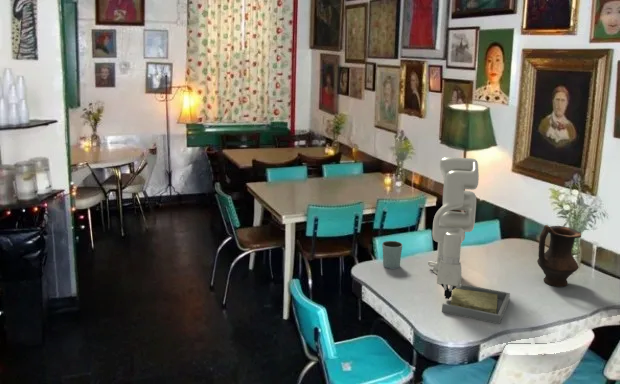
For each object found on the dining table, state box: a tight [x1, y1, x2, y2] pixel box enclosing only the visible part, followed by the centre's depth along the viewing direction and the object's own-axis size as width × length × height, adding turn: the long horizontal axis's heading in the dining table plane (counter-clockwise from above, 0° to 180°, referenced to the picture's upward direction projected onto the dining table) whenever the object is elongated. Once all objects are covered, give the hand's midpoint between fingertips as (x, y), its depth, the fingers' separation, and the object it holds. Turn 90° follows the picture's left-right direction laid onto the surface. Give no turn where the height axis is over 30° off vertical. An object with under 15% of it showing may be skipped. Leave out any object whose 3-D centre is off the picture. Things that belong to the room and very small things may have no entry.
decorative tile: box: [450, 288, 498, 314], centre depth 273 cm, size 19×20×4 cm
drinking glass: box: [382, 240, 403, 270], centre depth 316 cm, size 10×10×12 cm
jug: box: [536, 224, 582, 288], centre depth 296 cm, size 21×18×30 cm
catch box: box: [441, 283, 511, 325], centre depth 271 cm, size 24×27×4 cm
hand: (447, 297), depth 276 cm, fingers closed
